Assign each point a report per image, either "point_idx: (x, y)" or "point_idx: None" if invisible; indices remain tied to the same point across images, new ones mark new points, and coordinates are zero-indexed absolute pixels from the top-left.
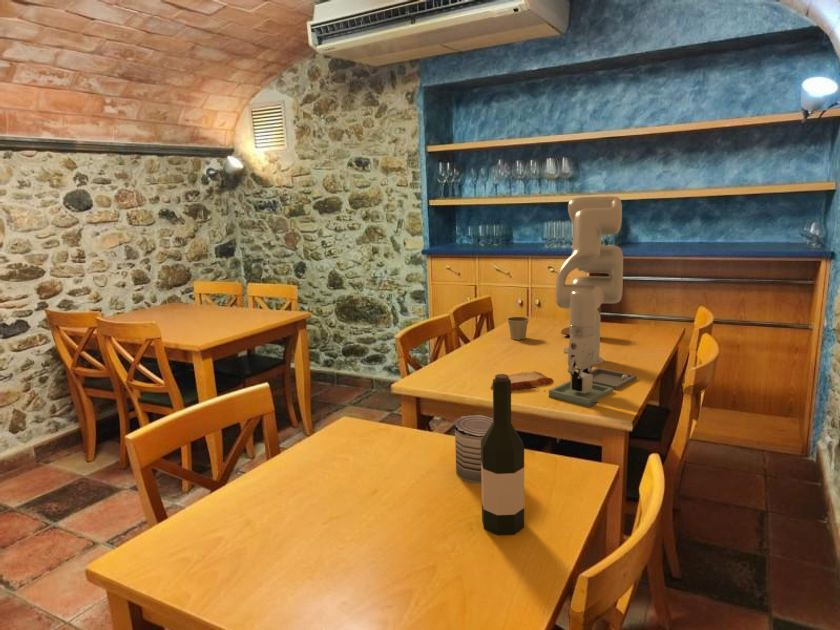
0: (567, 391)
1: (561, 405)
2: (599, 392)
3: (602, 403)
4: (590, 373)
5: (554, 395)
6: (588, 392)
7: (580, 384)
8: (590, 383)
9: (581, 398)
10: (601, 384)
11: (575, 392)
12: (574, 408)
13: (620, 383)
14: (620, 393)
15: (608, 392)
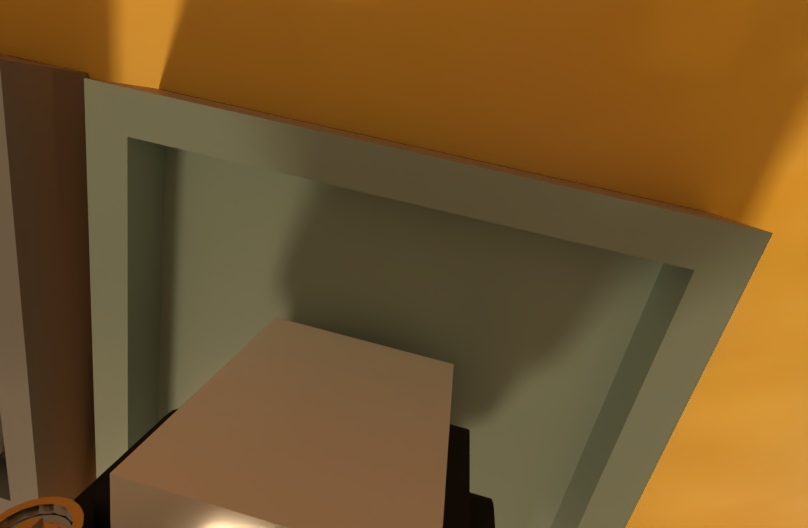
0: None
1: (729, 492)
2: (243, 230)
3: (495, 116)
4: (62, 509)
5: None
6: None
7: (466, 511)
8: (281, 384)
9: (705, 363)
10: (34, 267)
11: None
12: (793, 363)
13: None
14: (63, 22)
15: (233, 109)
